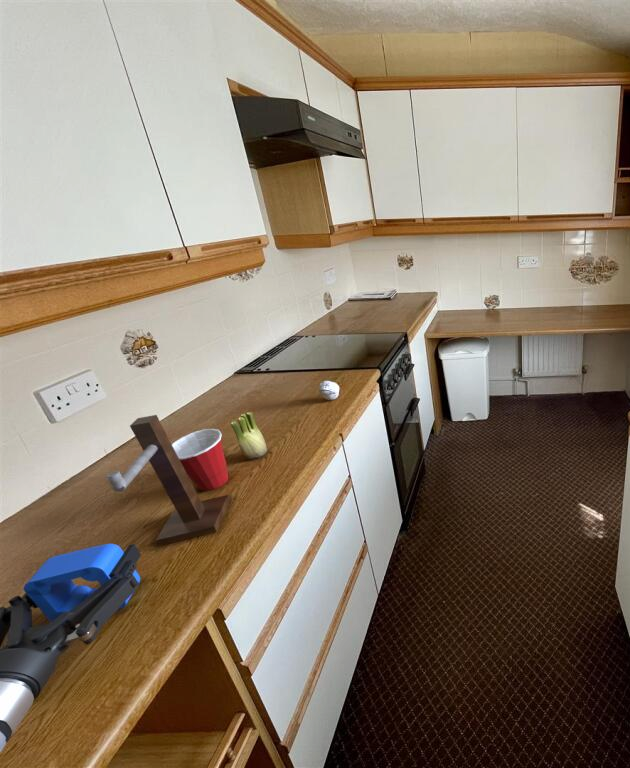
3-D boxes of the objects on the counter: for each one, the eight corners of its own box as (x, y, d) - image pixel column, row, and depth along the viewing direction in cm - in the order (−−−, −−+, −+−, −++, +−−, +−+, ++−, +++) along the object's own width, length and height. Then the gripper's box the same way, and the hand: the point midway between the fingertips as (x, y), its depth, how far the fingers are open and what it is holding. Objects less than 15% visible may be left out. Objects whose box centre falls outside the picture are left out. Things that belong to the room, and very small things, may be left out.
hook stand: (201, 565, 74) (139, 454, 64) (137, 582, 72) (60, 470, 61) (230, 499, 91) (185, 402, 80) (179, 511, 88) (124, 413, 77)
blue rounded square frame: (129, 607, 68) (99, 564, 63) (55, 627, 65) (18, 584, 61) (143, 582, 72) (116, 541, 68) (74, 600, 69) (41, 559, 65)
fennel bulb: (248, 464, 103) (230, 424, 98) (242, 457, 106) (225, 417, 101) (272, 453, 106) (256, 414, 101) (266, 447, 110) (250, 408, 104)
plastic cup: (174, 497, 93) (150, 454, 88) (213, 468, 102) (193, 427, 97) (214, 501, 91) (192, 457, 86) (250, 470, 100) (232, 429, 95)
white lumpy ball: (318, 405, 130) (311, 385, 127) (328, 395, 137) (322, 376, 133) (336, 404, 130) (330, 385, 127) (345, 394, 136) (340, 375, 133)
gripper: (-104, 750, 49) (28, 595, 68) (119, 680, 55) (183, 555, 74) (-152, 716, 46) (1, 563, 65) (90, 646, 52) (165, 524, 71)
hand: (98, 559), depth 70 cm, fingers closed on blue rounded square frame, 10 cm apart
